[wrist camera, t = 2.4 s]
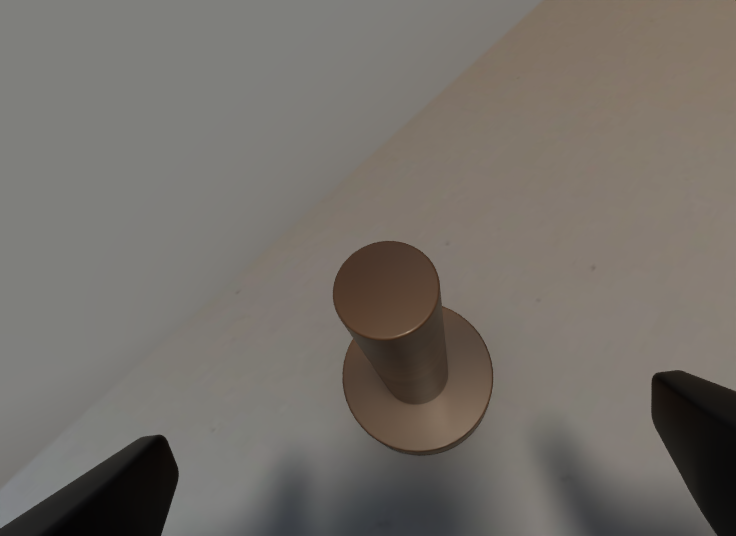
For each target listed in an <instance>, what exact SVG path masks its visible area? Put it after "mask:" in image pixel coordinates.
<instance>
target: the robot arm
mask: <svg viewBox="0 0 736 536" xmlns="http://www.w3.org/2000/svg"><path fill="white" fill-rule="evenodd" d="M651 413H652V419H653V423H654V426H655V428H656V430H657V432H658V433H659V435H660V437H661V439H662V441H663V443H664V445H665V446H666V448H667V450H668V452H669V454H670V456H671V457H672V459H673V461H674V463H675V465H676V467H677V468H678V470H679V472H680V474H681V476H682V478H683V480H684V481H685V483H686V485H687V487H688V489H689V491H690V492H691V494H692V496H693V498H694V500H695V501H696V503H697V505H698V507H699V508H700V510H701V512H702V513H703V515H704V516H705V518H706V519H707V521H708V522H709V524H710V526H711V527H712V528H713V530H714V531H715V533H716V534H717V536H736V391H733V390H731V389H728V388H726V387H723V386H720V385H718V384H715V383H712V382H710V381H707V380H705V379H702V378H699V377H697V376H694V375H691V374H689V373H686V372H684V371H680V370H675V371H667V372H659V373H656V374H655V375H654V376H653V378H652V399H651ZM178 477H179V471H178V467H177V464H176V461H175V459H174V456H173V454H172V451H171V449H170V446H169V444H168V441H167V439H166V438H165V437H164V436H162V435H153V436H145V437H141V438H139V439H137V440H136V441H134V442H133V443H131V444H130V445H128V446H127V447H125V448H124V449H122V450H120V451H119V452H117V453H116V454H114V455H113V456H111V457H110V458H108V459H107V460H105V461H104V462H102V463H100V464H99V465H97V466H96V467H94V468H93V469H91V470H90V471H88V472H87V473H85V474H84V475H82V476H80V477H79V478H77V479H76V480H74V481H73V482H71V483H70V484H68V485H67V486H65V487H64V488H62V489H60V490H59V491H57V492H56V493H54V494H53V495H51V496H50V497H48V498H47V499H45V500H44V501H42V502H40V503H39V504H37V505H36V506H34V507H33V508H31V509H30V510H28V511H27V512H25V513H24V514H22V515H20V516H19V517H17V518H16V519H14V520H13V521H11V522H10V523H8V524H7V525H5V526H4V527H2V528H0V536H161V534H162V531H163V528H164V524H165V521H166V518H167V515H168V512H169V508H170V505H171V502H172V499H173V496H174V492H175V489H176V486H177V483H178Z"/></svg>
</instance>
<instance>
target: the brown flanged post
mask: <svg viewBox="0 0 736 536" xmlns="http://www.w3.org/2000/svg"><path fill="white" fill-rule="evenodd" d="M333 301H334V306H335V309H336V312H337V314H338V316H339V318H340V319H341V321H342V322H343V324H344V325H345V327H346V328H347V330H348V331H349V332H350V334H351V335H352V337H353V340H352V342H351V343H350V345H349V348H348V350H347V353H346V356H345V360H344V366H343V388H344V393H345V397H346V401H347V403H348V406H349V408H350V410H351V412H352V414H353V416H354V417H355V419H356V420H357V422H358V423H359V424H360V425H361V427H362V428H363V429H364V430H365V431H366V432H367V433H368V434H370V435H371V436H372V437H373V438H375V439H376V440H378V441H379V442H381V443H382V444H384V445H386V446H387V447H389V448H391V449H394V450H396V451H399V452H402V453H406V454H411V455H431V454H437V453H441V452H443V451H446V450H449V449H451V448H453V447H455V446H457V445H458V444H460V443H461V442H463V441H464V440H465V439H467V438H468V437H469V436H470V435H471V434H472V433H473V432H474V430H475V429H476V428H477V427H478V425H479V424H480V422H481V420H482V419H483V417H484V415H485V412H486V410H487V407H488V404H489V401H490V397H491V393H492V387H493V368H492V362H491V358H490V355H489V352H488V349H487V347H486V345H485V343H484V341H483V339H482V337H481V336H480V334H479V333H478V332H477V330H476V329H475V328H474V327H473V326H472V325H471V324H470V323H469V322H468V321H467V320H466V319H464V318H463V317H462V316H461V315H459V314H457V313H456V312H454V311H452V310H450V309H448V308H445V307H443V306H442V303H441V292H440V282H439V277H438V274H437V271H436V269H435V267H434V265H433V263H432V262H431V261H430V259H429V258H428V257H427V256H426V255H425V254H424V253H423V252H421V251H420V250H418V249H417V248H415V247H413V246H411V245H408V244H406V243H402V242H396V241H383V242H377V243H373V244H370V245H367V246H365V247H363V248H361V249H359V250H358V251H356V252H355V253H353V254H352V255H351V256H350V257H349V258H348V259H347V260H346V261H345V262H344V264H343V265H342V266H341V268H340V270H339V271H338V274H337V276H336V278H335V282H334V287H333Z"/></svg>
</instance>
